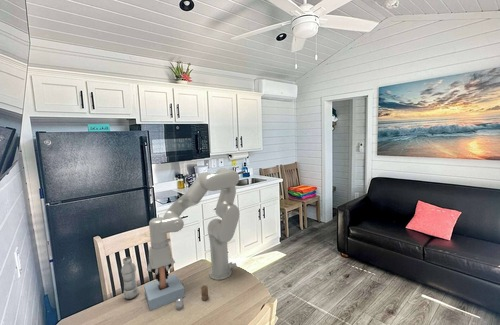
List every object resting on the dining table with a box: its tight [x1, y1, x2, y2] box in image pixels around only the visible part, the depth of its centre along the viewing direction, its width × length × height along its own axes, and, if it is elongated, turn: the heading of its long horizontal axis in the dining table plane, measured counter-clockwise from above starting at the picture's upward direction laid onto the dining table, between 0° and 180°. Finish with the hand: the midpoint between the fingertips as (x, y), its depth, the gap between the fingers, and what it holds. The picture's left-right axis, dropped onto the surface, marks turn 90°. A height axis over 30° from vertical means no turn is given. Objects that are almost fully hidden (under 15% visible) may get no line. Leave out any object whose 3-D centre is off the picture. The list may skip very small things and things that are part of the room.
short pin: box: [175, 297, 184, 311], centre depth 114 cm, size 3×3×4 cm
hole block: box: [143, 273, 186, 311], centre depth 123 cm, size 16×14×5 cm
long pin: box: [158, 266, 167, 290], centre depth 122 cm, size 3×3×12 cm
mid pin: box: [200, 284, 209, 302], centre depth 119 cm, size 3×3×6 cm
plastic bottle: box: [120, 256, 139, 300], centre depth 122 cm, size 6×7×20 cm
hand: (162, 278), depth 122 cm, fingers closed on long pin, 3 cm apart
